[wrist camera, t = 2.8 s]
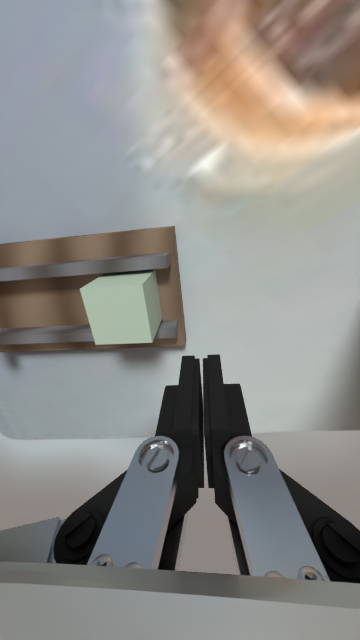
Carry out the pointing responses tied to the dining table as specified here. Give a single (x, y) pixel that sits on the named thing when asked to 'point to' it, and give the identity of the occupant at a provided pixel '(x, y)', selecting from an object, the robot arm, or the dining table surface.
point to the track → (74, 273)
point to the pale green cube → (123, 307)
